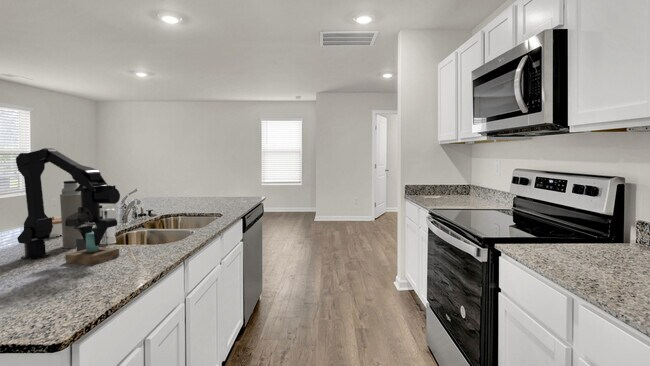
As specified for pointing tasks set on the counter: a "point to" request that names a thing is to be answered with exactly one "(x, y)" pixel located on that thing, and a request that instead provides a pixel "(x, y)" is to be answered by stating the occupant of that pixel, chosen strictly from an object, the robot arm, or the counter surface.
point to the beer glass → (110, 232)
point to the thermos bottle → (69, 212)
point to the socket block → (92, 256)
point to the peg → (91, 243)
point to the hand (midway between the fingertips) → (92, 245)
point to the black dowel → (80, 244)
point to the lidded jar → (56, 227)
